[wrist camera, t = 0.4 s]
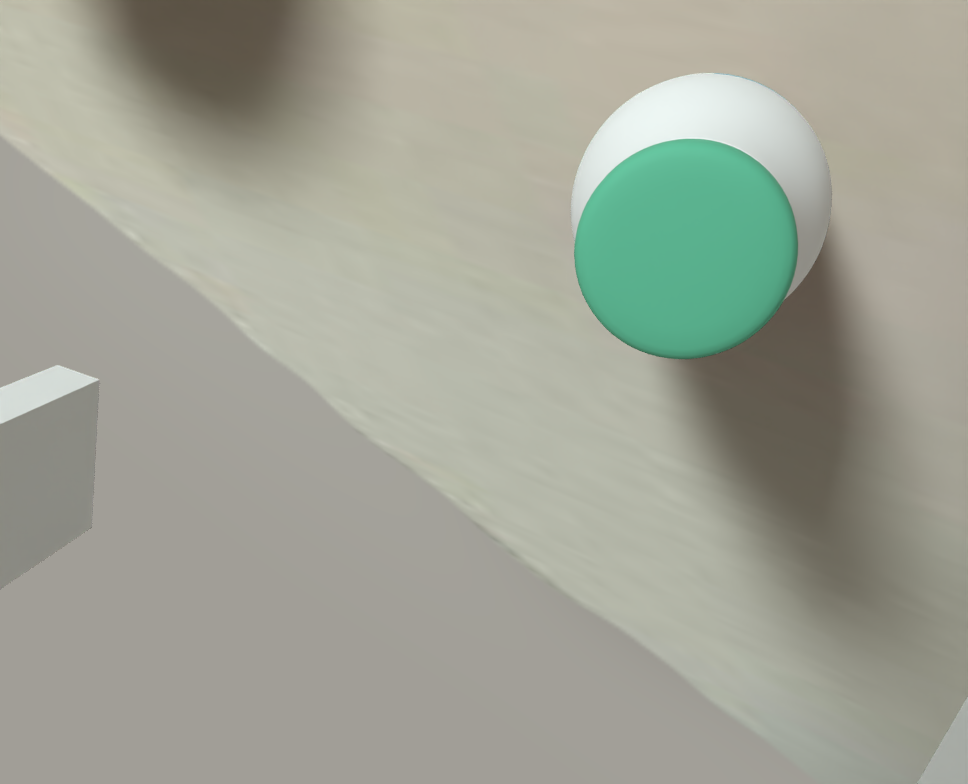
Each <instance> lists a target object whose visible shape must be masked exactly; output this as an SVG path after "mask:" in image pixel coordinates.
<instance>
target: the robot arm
mask: <svg viewBox="0 0 968 784" xmlns="http://www.w3.org/2000/svg"><path fill="white" fill-rule="evenodd" d="M98 397H99V379H96V378H93V377H90V376H87V375H85V374H82V373H79V372H76V371H73V370H71V369H68V368H65V367H61V366H59V365H57V366H54V367H51V368H49V369H46V370H44V371H41V372H39V373H36V374H34V375H31V376H29V377H26V378H24V379H21V380H19V381H16V382H14V383H11V384H9V385H6V386H4V387H1V388H0V589H1V588H3V587H4V586H6V585H7V584H9V583H10V582H12V581H13V580H15V579H16V578H18V577H19V576H21V575H22V574H23V573H25V572H27V571H28V570H30V569H31V568H33V567H34V566H36V565H37V564H39V563H40V562H41V561H43V560H45V559H46V558H47V557H49V556H51V555H52V554H53V553H55V552H56V551H58V550H59V549H61V548H62V547H64V546H65V545H67V544H68V543H70V542H71V541H73V540H74V539H76V538H77V537H79V536H80V535H82V534H83V533H85V532H86V531H88V530H89V529H91V528H92V514H93V495H94V476H95V475H94V474H95V456H96V436H97V418H98V399H99V398H98ZM917 784H968V697H967V698H966V700H965V702H964V704H963V705H962V707H961V709H960V710H959V712H958V714H957V716H956V717H955V719H954V721H953V722H952V724H951V726H950V728H949V729H948V731H947V733H946V734H945V736H944V738H943V740H942V741H941V743H940V745H939V747H938V748H937V750H936V752H935V753H934V755H933V757H932V759H931V760H930V762H929V764H928V765H927V767H926V769H925V771H924V772H923V774H922V776H921V777H920V779H919V781H918V783H917Z"/></svg>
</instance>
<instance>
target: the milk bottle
mask: <svg viewBox="0 0 968 784" xmlns="http://www.w3.org/2000/svg"><path fill="white" fill-rule="evenodd" d="M831 207H832V186H831V177H830V171H829V166H828V163H827V159H826V156H825V153H824V151H823V148H822V146H821V144H820V141H819V140H818V138H817V136H816V134H815V132H814V131H813V129H812V128H811V126H810V125H809V124H808V122H807V121H806V119H805V118H804V117H803V116H802V115H801V114H800V113H799V112H798V110H797V109H796V108H795V107H794V106H793V105H791V104H790V103H789V102H788V101H787V100H786V99H785V98H783V97H782V96H781V95H779V94H778V93H776V92H775V91H773V90H771V89H770V88H768V87H766V86H764V85H762V84H760V83H757V82H755V81H753V80H749V79H746V78H743V77H739V76H734V75H729V74H720V73H700V74H691V75H686V76H681V77H677V78H674V79H670V80H667V81H664V82H661V83H659V84H657V85H654V86H652V87H650V88H648V89H646V90H644V91H642V92H641V93H639V94H637V95H636V96H634V97H633V98H631V99H630V100H628V101H627V102H626V103H624V104H623V105H622V106H621V107H619V108H618V109H617V110H616V111H615V112H614V113H613V114H612V115H611V116H610V117H609V118H608V119H607V120H606V121H605V123H604V124H603V125H602V126H601V127H600V129H599V130H598V131H597V133H596V134H595V136H594V137H593V139H592V140H591V142H590V144H589V146H588V148H587V149H586V151H585V154H584V156H583V158H582V161H581V163H580V165H579V168H578V171H577V174H576V178H575V182H574V186H573V192H572V199H571V224H572V231H573V238H574V241H575V250H574V257H575V268H576V274H577V278H578V282H579V286H580V288H581V291H582V294H583V296H584V298H585V300H586V302H587V304H588V306H589V307H590V309H591V310H592V312H593V313H594V315H595V316H596V317H597V319H598V320H599V321H600V322H601V323H602V324H603V326H604V327H605V328H606V329H607V330H608V331H610V332H611V333H612V334H613V335H614V336H616V337H617V338H618V339H620V340H621V341H623V342H624V343H626V344H627V345H629V346H631V347H633V348H635V349H637V350H639V351H642V352H645V353H648V354H651V355H655V356H658V357H664V358H672V359H693V358H701V357H706V356H711V355H714V354H717V353H721V352H723V351H726V350H728V349H731V348H733V347H735V346H737V345H739V344H741V343H742V342H744V341H745V340H747V339H748V338H750V337H751V336H753V335H754V334H755V333H756V332H758V331H759V330H760V329H761V328H762V327H763V326H764V325H765V324H766V323H767V322H768V321H769V320H770V319H771V318H772V317H773V315H774V314H775V313H776V311H777V310H778V309H779V307H780V306H781V304H782V302H783V301H784V300H785V299H786V298H787V297H788V296H789V295H790V294H791V293H792V292H793V291H794V290H795V289H796V288H797V287H798V286H799V284H800V283H801V282H802V281H803V279H804V278H805V277H806V275H807V274H808V273H809V271H810V269H811V268H812V266H813V264H814V263H815V261H816V259H817V257H818V255H819V253H820V250H821V248H822V246H823V243H824V240H825V237H826V233H827V229H828V225H829V221H830V214H831Z"/></svg>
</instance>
